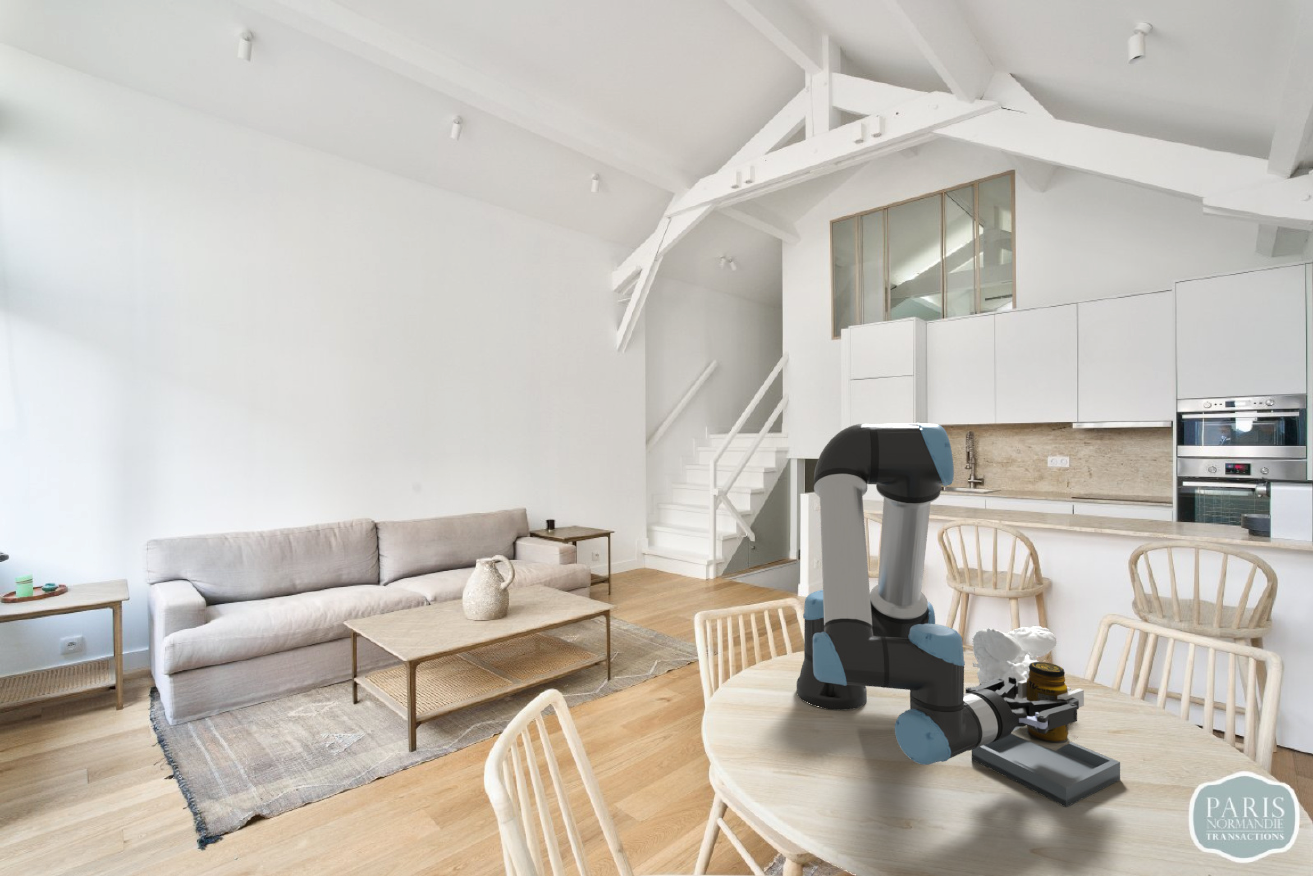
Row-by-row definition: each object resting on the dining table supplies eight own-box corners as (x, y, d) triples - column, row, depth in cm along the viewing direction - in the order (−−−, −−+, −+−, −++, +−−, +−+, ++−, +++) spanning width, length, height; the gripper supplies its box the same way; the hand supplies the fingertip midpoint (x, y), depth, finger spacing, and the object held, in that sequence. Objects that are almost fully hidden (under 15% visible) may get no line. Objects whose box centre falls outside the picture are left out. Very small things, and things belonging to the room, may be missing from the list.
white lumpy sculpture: (1060, 691, 116) (981, 613, 132) (1005, 754, 126) (937, 674, 141) (1117, 679, 125) (1036, 606, 140) (1061, 739, 134) (991, 665, 149)
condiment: (1078, 738, 105) (1077, 668, 105) (1055, 752, 100) (1054, 678, 100) (1033, 722, 111) (1032, 656, 111) (1009, 734, 106) (1008, 665, 106)
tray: (971, 759, 109) (971, 742, 109) (1025, 738, 117) (1025, 722, 117) (1065, 807, 95) (1065, 788, 95) (1120, 779, 103) (1120, 762, 103)
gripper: (926, 717, 106) (1008, 691, 116) (1038, 769, 89) (1122, 733, 100) (926, 674, 106) (1008, 652, 116) (1038, 718, 89) (1121, 688, 100)
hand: (1060, 690), depth 108 cm, fingers closed on condiment, 6 cm apart
